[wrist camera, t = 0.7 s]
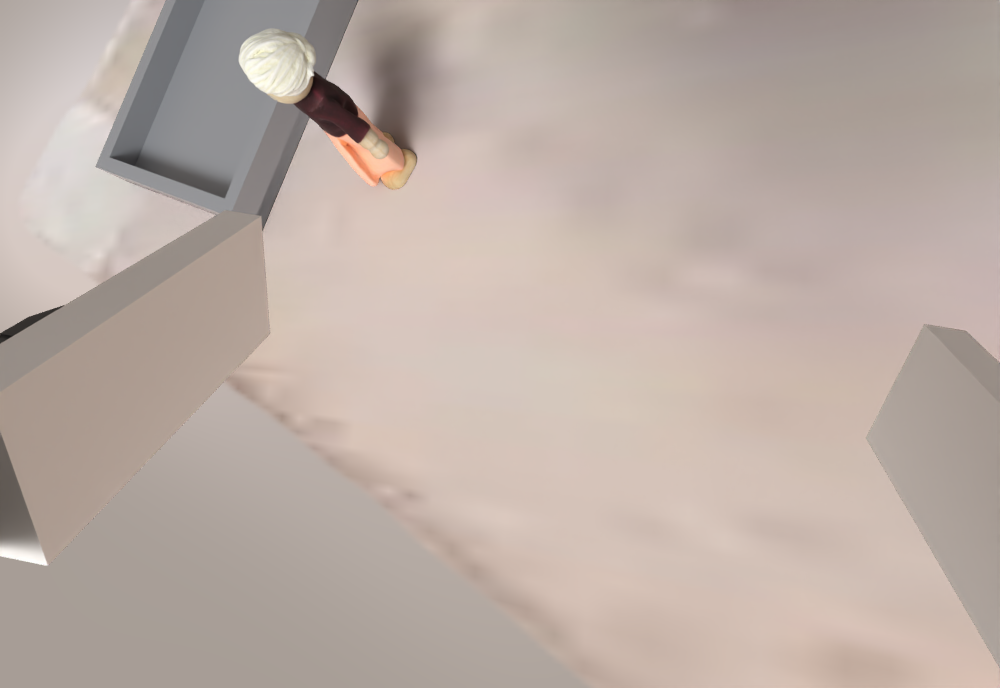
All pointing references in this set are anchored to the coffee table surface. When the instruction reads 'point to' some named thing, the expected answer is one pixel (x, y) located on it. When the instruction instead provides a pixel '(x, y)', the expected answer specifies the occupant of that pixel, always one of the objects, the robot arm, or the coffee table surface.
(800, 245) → the coffee table surface
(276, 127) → the tray
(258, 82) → the grandmother figurine
